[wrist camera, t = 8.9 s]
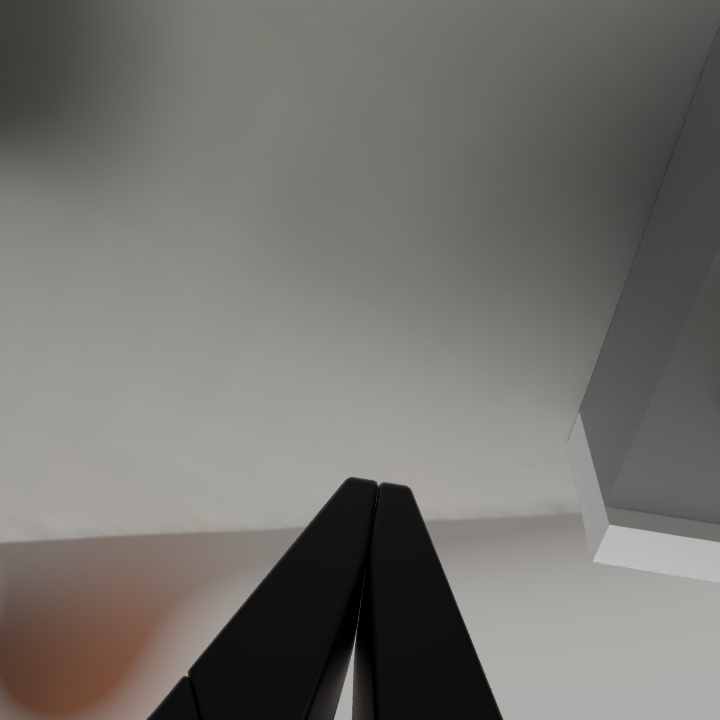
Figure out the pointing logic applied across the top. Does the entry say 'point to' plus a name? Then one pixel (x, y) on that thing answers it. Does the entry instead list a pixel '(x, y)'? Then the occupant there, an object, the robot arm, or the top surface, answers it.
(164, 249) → the top surface
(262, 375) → the top surface
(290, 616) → the robot arm
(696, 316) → the power strip
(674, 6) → the top surface
